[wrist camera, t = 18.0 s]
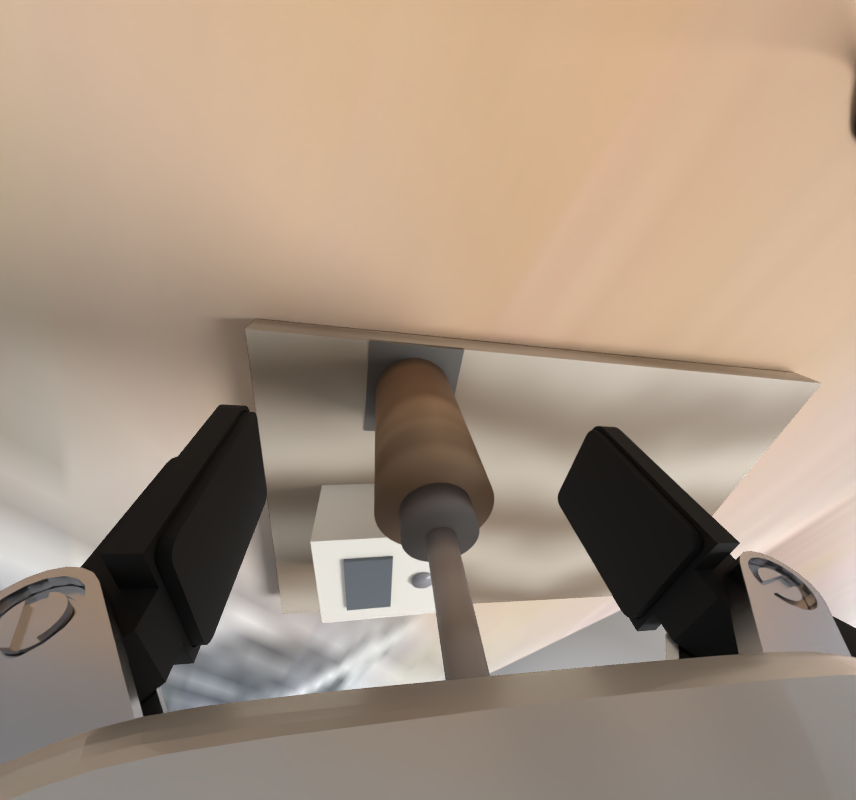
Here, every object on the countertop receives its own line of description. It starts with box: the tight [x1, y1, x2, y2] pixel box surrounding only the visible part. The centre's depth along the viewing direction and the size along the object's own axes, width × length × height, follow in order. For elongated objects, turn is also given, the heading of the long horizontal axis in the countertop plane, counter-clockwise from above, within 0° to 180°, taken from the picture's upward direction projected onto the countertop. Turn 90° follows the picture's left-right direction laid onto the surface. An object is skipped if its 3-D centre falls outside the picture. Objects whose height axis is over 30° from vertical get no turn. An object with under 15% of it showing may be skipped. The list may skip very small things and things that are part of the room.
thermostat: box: [310, 484, 436, 623], centre depth 16 cm, size 6×6×3 cm
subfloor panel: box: [245, 319, 822, 614], centre depth 18 cm, size 18×26×1 cm
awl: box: [374, 358, 494, 680], centre depth 9 cm, size 3×3×11 cm
